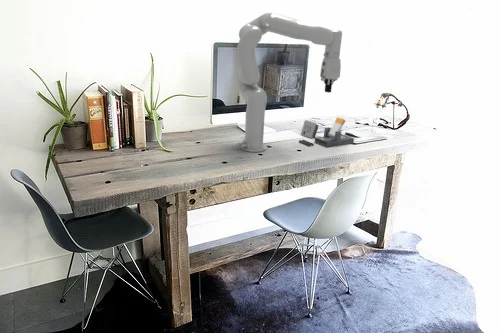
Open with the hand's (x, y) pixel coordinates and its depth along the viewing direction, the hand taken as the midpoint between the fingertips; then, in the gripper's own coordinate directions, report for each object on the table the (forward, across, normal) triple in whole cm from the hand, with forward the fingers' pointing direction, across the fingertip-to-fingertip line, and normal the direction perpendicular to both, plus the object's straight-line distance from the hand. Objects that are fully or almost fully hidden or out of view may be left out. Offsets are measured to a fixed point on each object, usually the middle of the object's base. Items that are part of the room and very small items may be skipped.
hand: (327, 92), depth 201 cm
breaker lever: (+24, +7, 0) cm, 26 cm away
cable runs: (+29, -7, +5) cm, 30 cm away
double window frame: (+29, +9, 0) cm, 30 cm away
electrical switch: (+29, +5, +17) cm, 34 cm away
